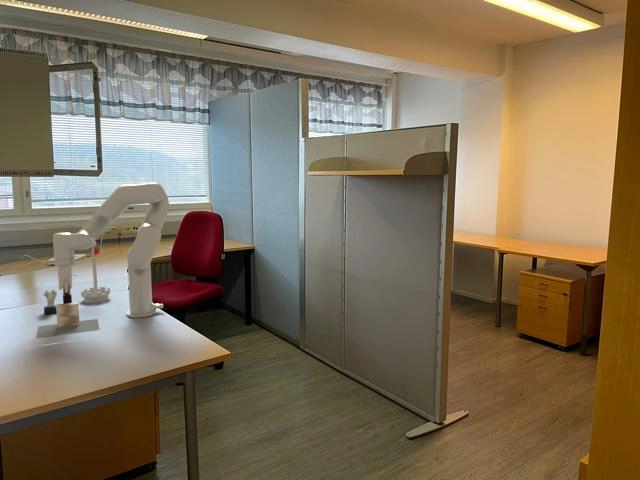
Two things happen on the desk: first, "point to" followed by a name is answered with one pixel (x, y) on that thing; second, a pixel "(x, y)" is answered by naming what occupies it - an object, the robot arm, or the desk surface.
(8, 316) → the desk surface
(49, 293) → the watch
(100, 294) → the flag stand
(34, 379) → the desk surface
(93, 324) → the mat
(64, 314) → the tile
